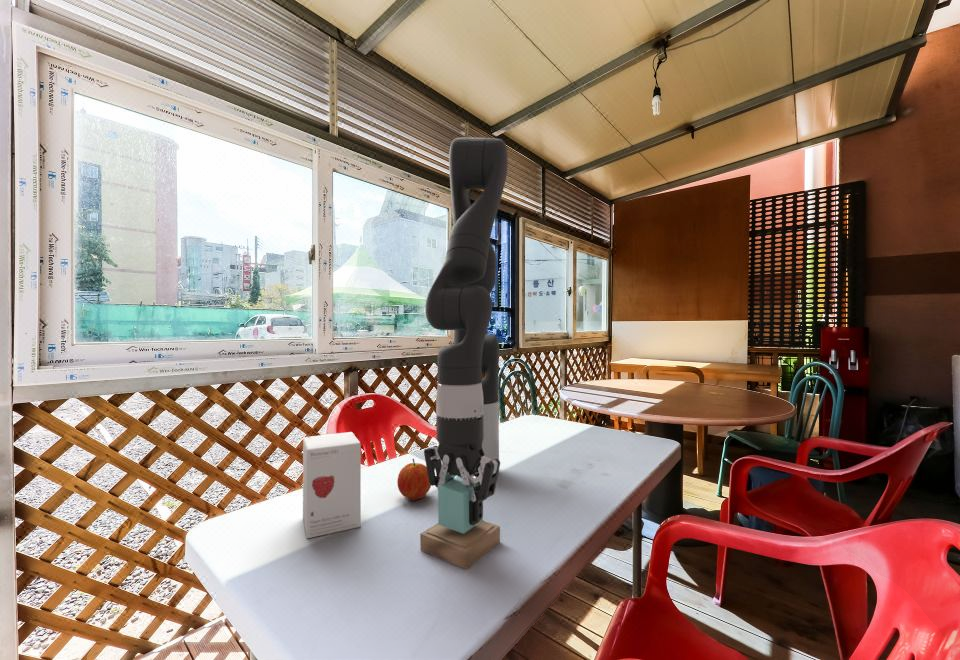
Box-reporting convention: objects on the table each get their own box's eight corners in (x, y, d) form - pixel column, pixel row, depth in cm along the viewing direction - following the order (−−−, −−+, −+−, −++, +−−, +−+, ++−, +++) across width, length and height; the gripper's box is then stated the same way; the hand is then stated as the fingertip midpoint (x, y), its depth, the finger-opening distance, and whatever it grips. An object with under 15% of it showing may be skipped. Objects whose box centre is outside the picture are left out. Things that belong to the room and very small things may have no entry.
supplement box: (305, 540, 65) (304, 449, 65) (302, 517, 73) (301, 436, 73) (362, 527, 69) (361, 441, 69) (353, 507, 77) (352, 430, 77)
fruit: (438, 497, 81) (438, 458, 81) (411, 508, 76) (411, 467, 76) (417, 488, 86) (417, 451, 86) (390, 498, 81) (390, 459, 81)
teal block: (438, 524, 62) (438, 486, 62) (458, 512, 66) (457, 476, 66) (463, 533, 59) (463, 493, 59) (482, 520, 64) (482, 483, 64)
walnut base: (420, 549, 62) (420, 532, 62) (456, 526, 69) (456, 510, 69) (466, 569, 57) (466, 550, 57) (499, 541, 64) (499, 524, 64)
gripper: (410, 410, 64) (411, 515, 64) (483, 421, 56) (484, 542, 56) (441, 403, 70) (441, 499, 70) (510, 412, 62) (511, 520, 62)
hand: (460, 517), depth 63 cm, fingers closed on teal block, 5 cm apart
